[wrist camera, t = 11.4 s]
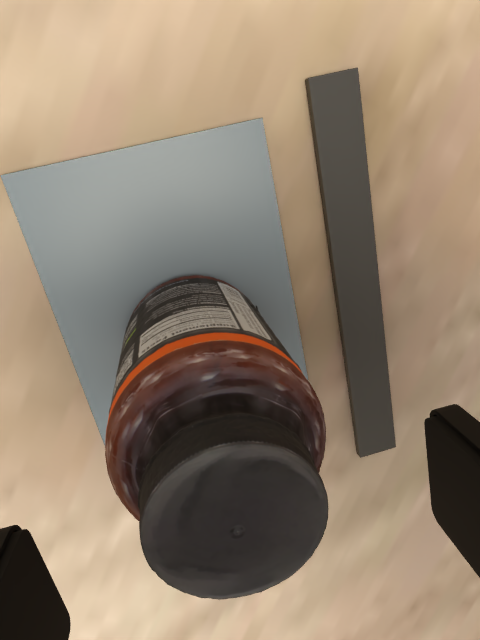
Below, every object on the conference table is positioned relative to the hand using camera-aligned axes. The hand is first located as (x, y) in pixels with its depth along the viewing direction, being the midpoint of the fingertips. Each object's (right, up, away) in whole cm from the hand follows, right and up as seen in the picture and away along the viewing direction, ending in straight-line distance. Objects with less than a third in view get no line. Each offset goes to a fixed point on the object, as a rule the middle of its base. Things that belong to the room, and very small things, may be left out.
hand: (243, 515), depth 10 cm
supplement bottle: (-2, +4, +10) cm, 11 cm away
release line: (+5, +6, +10) cm, 13 cm away
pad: (-2, +4, +10) cm, 11 cm away
